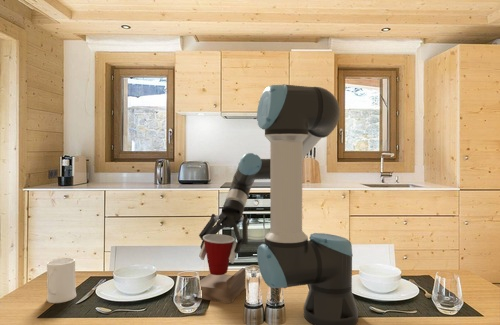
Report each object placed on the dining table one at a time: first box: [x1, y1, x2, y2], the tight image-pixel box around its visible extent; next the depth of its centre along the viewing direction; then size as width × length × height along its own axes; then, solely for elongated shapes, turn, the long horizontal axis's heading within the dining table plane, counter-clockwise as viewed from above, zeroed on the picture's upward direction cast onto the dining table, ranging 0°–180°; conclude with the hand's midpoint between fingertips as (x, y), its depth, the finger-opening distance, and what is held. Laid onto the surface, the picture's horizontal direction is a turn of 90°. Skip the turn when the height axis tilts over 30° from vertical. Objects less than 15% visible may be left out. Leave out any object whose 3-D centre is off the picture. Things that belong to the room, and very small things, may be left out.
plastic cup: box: [202, 233, 236, 275], centre depth 121 cm, size 11×11×12 cm
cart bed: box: [199, 267, 246, 304], centre depth 121 cm, size 13×13×7 cm
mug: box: [46, 257, 77, 304], centre depth 116 cm, size 12×8×12 cm
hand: (215, 259), depth 118 cm, fingers closed on plastic cup, 10 cm apart
